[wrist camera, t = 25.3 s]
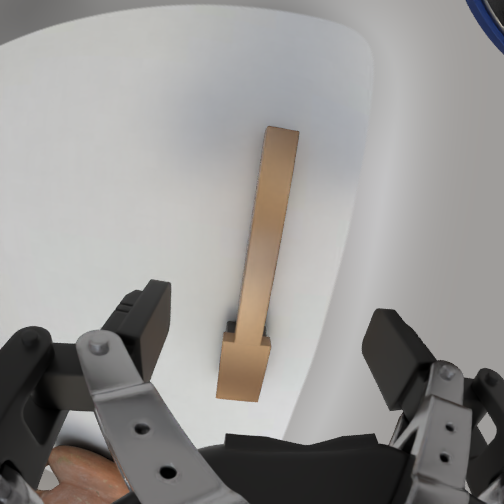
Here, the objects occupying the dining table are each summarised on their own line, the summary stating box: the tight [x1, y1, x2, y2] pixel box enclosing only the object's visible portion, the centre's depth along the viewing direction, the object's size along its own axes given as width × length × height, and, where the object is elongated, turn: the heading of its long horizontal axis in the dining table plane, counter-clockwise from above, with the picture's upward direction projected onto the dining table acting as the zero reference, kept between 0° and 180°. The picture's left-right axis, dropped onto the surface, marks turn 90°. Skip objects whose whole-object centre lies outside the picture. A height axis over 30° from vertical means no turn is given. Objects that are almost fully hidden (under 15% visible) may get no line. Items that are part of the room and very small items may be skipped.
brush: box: [216, 126, 299, 402], centre depth 20 cm, size 20×3×3 cm, turn 172°
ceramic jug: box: [36, 445, 129, 504], centre depth 24 cm, size 18×14×14 cm
